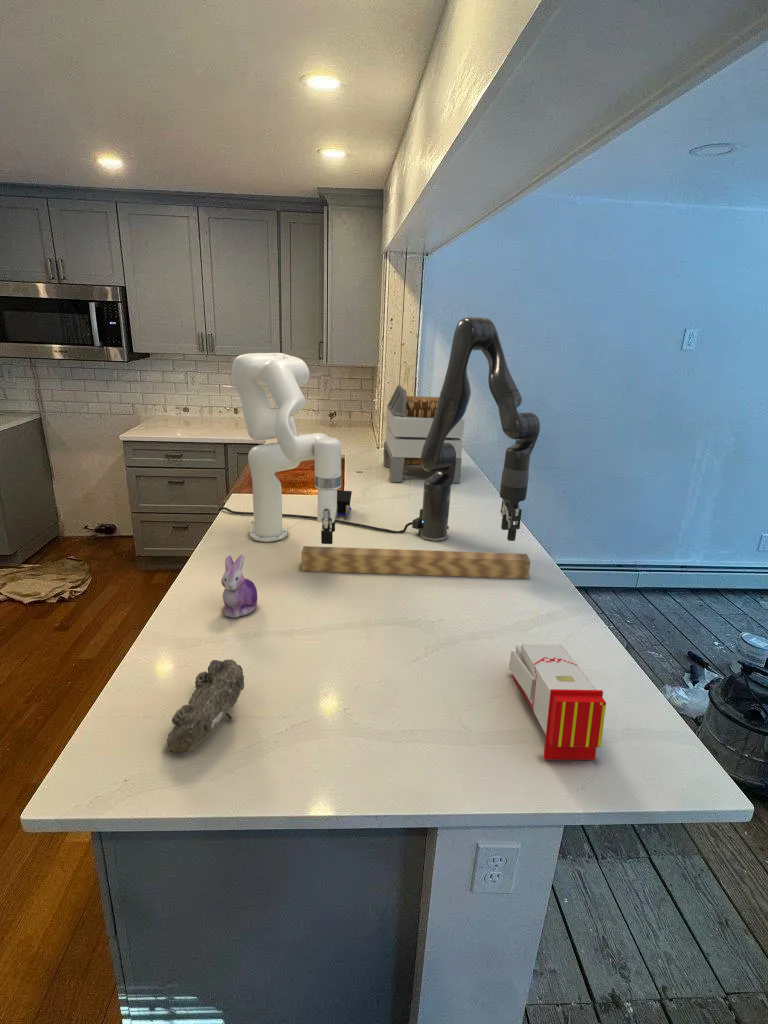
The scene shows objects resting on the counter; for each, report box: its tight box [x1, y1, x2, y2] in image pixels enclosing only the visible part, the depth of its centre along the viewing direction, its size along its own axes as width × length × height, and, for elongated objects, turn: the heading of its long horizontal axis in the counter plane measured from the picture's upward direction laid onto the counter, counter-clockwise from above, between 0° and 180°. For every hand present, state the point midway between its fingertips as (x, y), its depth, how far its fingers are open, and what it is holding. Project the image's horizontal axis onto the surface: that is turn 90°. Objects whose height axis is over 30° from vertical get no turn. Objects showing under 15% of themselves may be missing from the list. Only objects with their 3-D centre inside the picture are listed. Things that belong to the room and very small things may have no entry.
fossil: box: [166, 658, 245, 754], centre depth 106 cm, size 22×10×15 cm
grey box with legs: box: [383, 384, 465, 484], centre depth 268 cm, size 34×33×41 cm
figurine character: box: [336, 489, 353, 519], centre depth 215 cm, size 7×8×15 cm
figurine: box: [220, 553, 258, 618], centre depth 143 cm, size 9×10×15 cm
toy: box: [508, 643, 607, 761], centre depth 112 cm, size 12×13×30 cm
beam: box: [301, 545, 531, 580], centre depth 171 cm, size 68×5×6 cm, turn 91°
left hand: (328, 537), depth 167 cm, fingers open, 9 cm apart
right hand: (507, 534), depth 168 cm, fingers open, 8 cm apart
